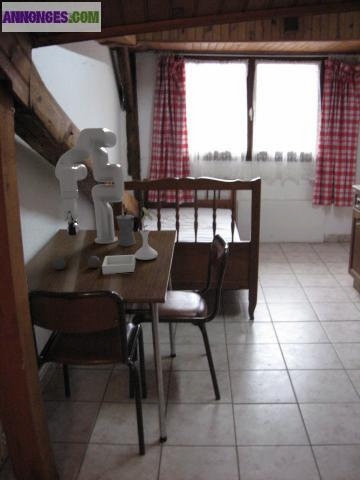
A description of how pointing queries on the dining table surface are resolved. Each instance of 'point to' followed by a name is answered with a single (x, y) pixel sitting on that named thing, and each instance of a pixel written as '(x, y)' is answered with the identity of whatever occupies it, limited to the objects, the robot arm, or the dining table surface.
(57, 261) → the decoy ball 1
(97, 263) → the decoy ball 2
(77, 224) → the steel ball
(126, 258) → the tray
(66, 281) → the dining table surface
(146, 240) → the flower in vase
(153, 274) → the dining table surface
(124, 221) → the coffeepot
